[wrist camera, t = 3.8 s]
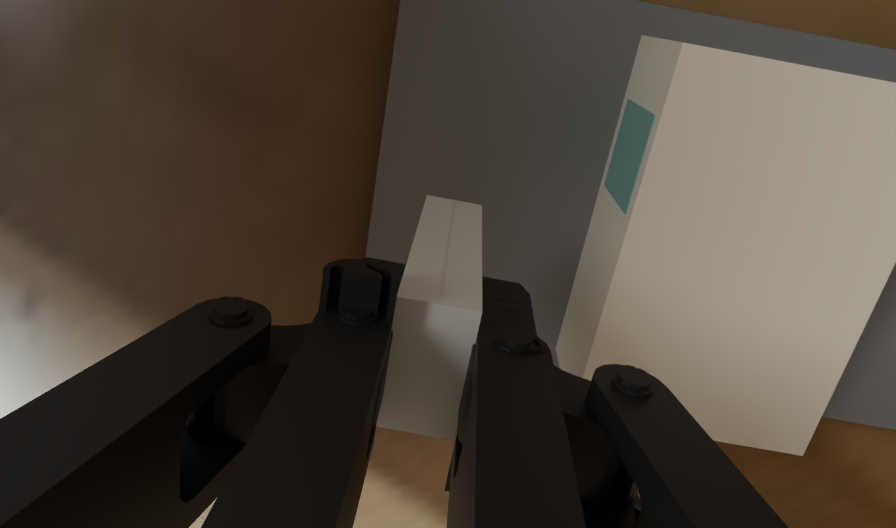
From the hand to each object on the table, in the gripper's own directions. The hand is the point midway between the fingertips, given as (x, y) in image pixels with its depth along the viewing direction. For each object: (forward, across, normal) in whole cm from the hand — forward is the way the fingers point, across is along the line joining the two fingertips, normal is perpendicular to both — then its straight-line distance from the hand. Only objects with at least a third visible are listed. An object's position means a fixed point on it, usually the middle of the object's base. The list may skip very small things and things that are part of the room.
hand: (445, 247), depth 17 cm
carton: (+6, +9, 0) cm, 11 cm away
